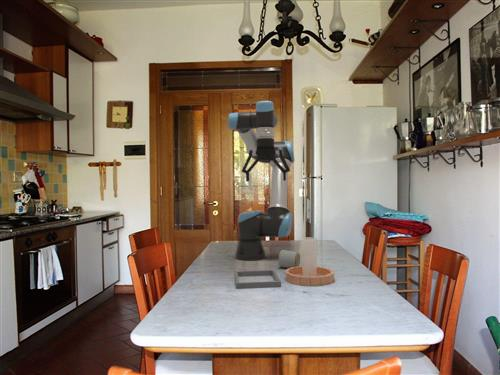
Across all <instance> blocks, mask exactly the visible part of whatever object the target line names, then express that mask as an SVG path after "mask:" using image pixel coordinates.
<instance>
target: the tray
mask: <svg viewBox="0 0 500 375" xmlns="http://www.w3.org/2000/svg"><path fill="white" fill-rule="evenodd" d="M256 276H257V277H260V276H272V278H273V279H274V281H273V280H270V281H246V282H239V277H256ZM234 280H235V288H236V289H255V288H259V289H261V288H281V287H282V282H281V280H280V278H279V276H278V274H277V273H276V271H275V269H270V270H269V269H268V270H267V269H266V270H264V269H263V270H239V271H234Z"/></svg>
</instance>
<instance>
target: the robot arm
mask: <svg viewBox="0 0 500 375" xmlns="http://www.w3.org/2000/svg"><path fill="white" fill-rule="evenodd" d="M278 124H279V117H278V115H277V114H276V113H275V107H274V102H273V101H271V100H261V101H257V102H256V103H255V111H245V112H236V111H235V112H231V113H229V114H228V117H227V125H228V128H229V129H230V130H234V131H237V133H238V134H239V136H240V138H241V140H242V142H243V143H244V145H245V150H246V153H247V154H248V156H247V159H246V161H245V162H244V164H243V167H242V169H241V173H244V174H245V181H246V182H248V190H252V173H250V172H251V171H252V170H253V169H254V167H255V166H257V164H258V162H259V163H261V164H262V163H263V164H269V166H270V167H271V185H270V196H269V197H270V198H269V199H270V200H269V206H268V207H267V208H266V209H265V210H266V212H265V213H263V212H262V210H261V209H260V210H258V209H257V210H249V211H245V212H244V211H243V212H241V213H239V214H238V215H237V216H238V220H237V228H238V230H237V231H238V244H237V246H236V250H235V259H237V260H242V261H257V260H263V259H266V251H265V247H264V245H263V239H262V238H266V237H267V238H270V237H271V238H284V237H285V238H286V237H288V236H290V235H291V231H292V227H293V214H292V213H291V212H290V211H291V210H290V209H289V208H288V207H287V206H288V205H287V204H288V202H287V201H288V186H289V184H288V182H289V172H291V167H292V164H294V163H295V153H294V152H295V151H294V145H293V142H292V141H289V140H287V141H286V140H283V141H281V140H280V141H275V139H274V138H275V128H276V127H277V125H278ZM251 159H253V160H254V161H253V162H252V164H251V165H250V166H249V168H248V165H249V163H250V162H251ZM247 168H248V169H247Z"/></svg>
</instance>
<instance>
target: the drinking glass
mask: <svg viewBox="0 0 500 375" xmlns="http://www.w3.org/2000/svg"><path fill="white" fill-rule="evenodd" d="M299 250H300V262H301V266H302V272H303V276H307V277H316V276H317V266H318V257H319V256H318V255H319V253H318V252H319V241H318V238H317V237H311V236H310V237H300V239H299Z"/></svg>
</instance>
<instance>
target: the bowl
mask: <svg viewBox="0 0 500 375" xmlns="http://www.w3.org/2000/svg"><path fill="white" fill-rule="evenodd" d="M284 279H285V281H286V282H288V283H291V284H294V285H298V286H307V287H309V286H310V287H312V286H313V287H317V286H319V287H320V286H325V285H330V284H332V283H335V282H334V281H335V271H334V270H333V269H332V268H329V267H328V268H327V267H324V266H318V265H317V276H316V277H307V276H303V272H302V265H299V266H297V267H291V268H286V269H285V270H284Z"/></svg>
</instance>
